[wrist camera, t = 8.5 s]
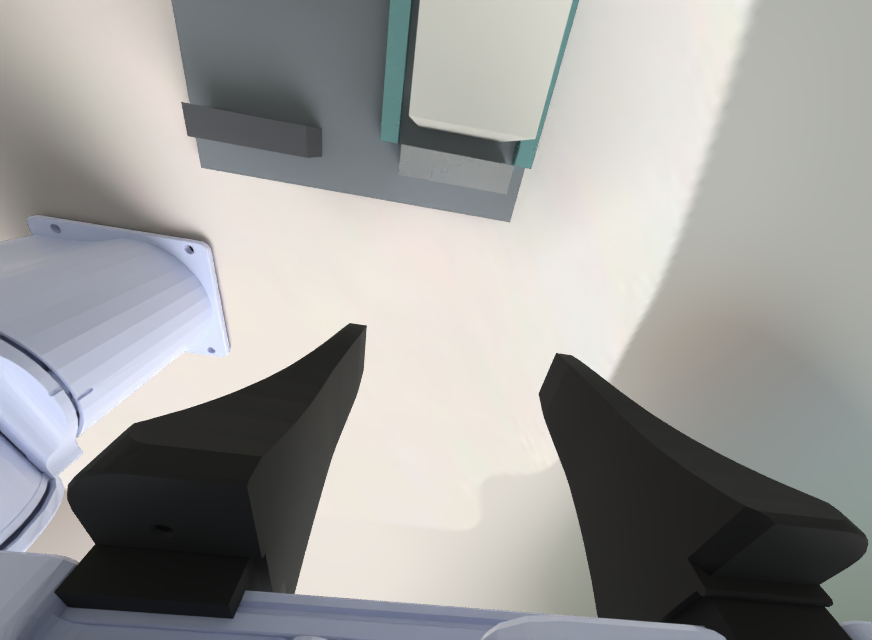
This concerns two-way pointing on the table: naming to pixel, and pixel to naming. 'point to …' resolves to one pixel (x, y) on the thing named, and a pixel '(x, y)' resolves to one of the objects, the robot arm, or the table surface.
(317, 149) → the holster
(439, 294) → the table surface
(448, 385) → the table surface
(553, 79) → the port
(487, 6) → the plug
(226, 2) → the panel
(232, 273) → the table surface
